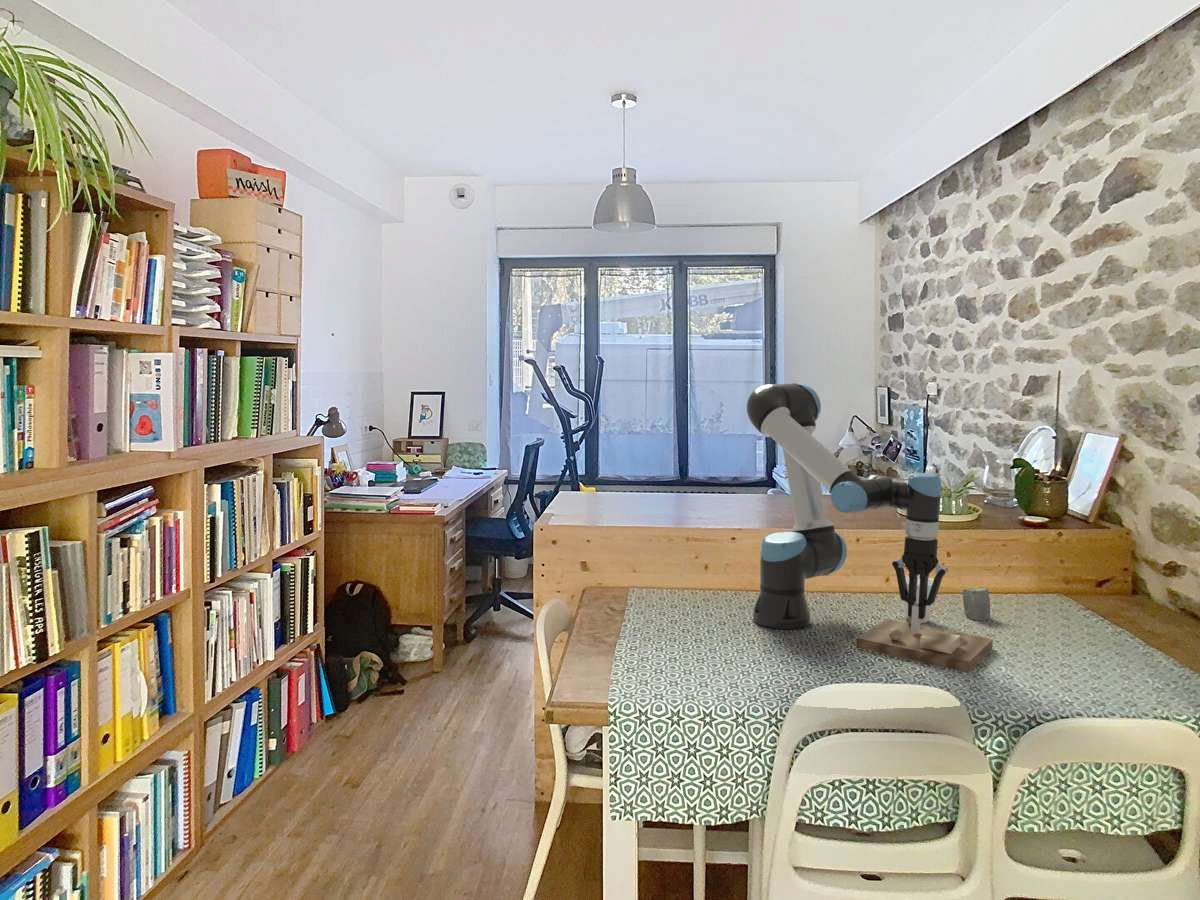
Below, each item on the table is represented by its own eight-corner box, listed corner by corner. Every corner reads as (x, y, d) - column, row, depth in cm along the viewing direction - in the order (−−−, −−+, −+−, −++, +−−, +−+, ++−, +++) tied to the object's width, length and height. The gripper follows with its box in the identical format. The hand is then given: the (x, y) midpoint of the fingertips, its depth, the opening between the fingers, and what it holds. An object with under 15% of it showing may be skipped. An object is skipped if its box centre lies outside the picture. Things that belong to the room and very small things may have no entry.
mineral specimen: (997, 614, 229) (996, 587, 227) (979, 626, 225) (978, 598, 223) (972, 606, 235) (971, 580, 233) (954, 618, 231) (953, 591, 229)
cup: (939, 626, 220) (941, 586, 219) (900, 624, 222) (901, 584, 221) (932, 615, 230) (934, 576, 229) (894, 613, 232) (896, 574, 231)
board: (856, 647, 204) (856, 637, 203) (885, 627, 219) (886, 618, 219) (968, 672, 187) (969, 661, 187) (992, 649, 203) (992, 639, 203)
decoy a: (886, 640, 201) (887, 628, 201) (891, 637, 203) (891, 625, 203) (899, 643, 199) (899, 631, 199) (903, 640, 202) (904, 628, 201)
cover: (919, 647, 196) (920, 637, 195) (929, 639, 201) (929, 629, 201) (950, 653, 191) (951, 643, 191) (959, 645, 197) (960, 635, 196)
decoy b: (904, 625, 213) (904, 613, 213) (908, 622, 216) (908, 610, 215) (916, 627, 212) (916, 615, 211) (919, 624, 214) (920, 613, 214)
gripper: (889, 535, 205) (883, 628, 208) (944, 543, 197) (938, 640, 200) (899, 530, 211) (894, 621, 213) (953, 538, 203) (947, 632, 205)
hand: (915, 630), depth 206 cm, fingers closed
